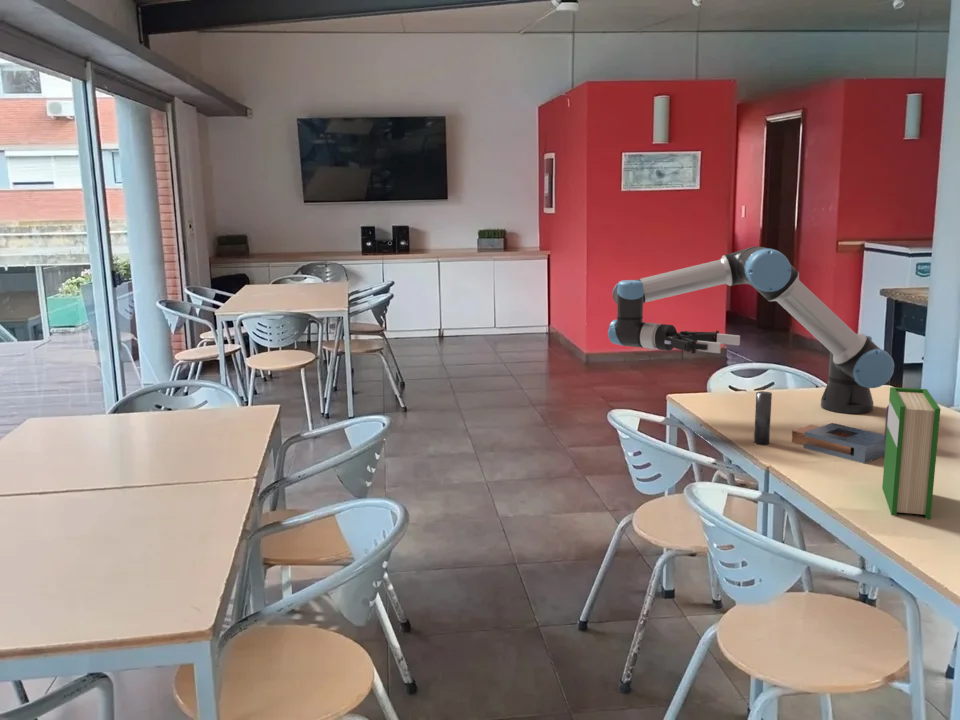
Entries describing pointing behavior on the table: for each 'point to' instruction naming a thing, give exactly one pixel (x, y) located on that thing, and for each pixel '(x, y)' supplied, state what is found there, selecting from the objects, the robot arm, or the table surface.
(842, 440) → the orange grey flat block
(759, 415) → the pin
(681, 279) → the robot arm
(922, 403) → the hardback book
